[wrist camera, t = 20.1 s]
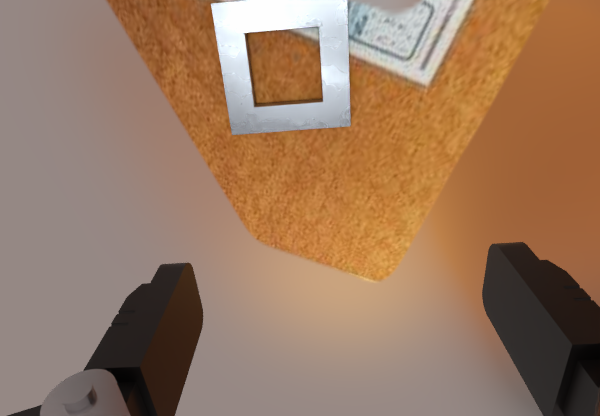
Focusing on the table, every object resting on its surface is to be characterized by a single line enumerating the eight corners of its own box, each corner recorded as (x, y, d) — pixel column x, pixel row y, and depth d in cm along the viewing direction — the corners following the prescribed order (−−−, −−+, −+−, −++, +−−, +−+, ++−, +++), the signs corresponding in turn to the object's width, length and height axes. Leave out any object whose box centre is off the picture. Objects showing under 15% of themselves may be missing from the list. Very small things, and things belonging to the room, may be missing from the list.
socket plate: (345, -9, 37) (346, -9, 36) (349, 121, 43) (350, 126, 42) (214, 3, 38) (210, 3, 37) (234, 130, 43) (232, 134, 42)
